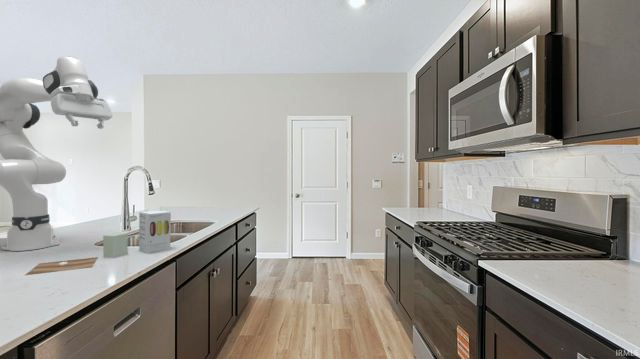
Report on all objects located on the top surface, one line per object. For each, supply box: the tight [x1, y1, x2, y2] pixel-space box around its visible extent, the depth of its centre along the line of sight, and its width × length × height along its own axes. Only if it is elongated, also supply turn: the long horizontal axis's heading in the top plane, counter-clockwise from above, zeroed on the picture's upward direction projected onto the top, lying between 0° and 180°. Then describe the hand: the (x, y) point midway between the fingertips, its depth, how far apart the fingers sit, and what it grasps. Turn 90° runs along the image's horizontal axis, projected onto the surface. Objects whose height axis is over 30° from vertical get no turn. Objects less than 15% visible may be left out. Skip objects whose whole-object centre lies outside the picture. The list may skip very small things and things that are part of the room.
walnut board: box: [25, 256, 99, 276], centre depth 104 cm, size 14×17×1 cm
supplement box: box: [138, 210, 172, 255], centre depth 129 cm, size 10×9×17 cm
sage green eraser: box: [102, 232, 129, 259], centre depth 117 cm, size 5×6×9 cm
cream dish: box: [59, 262, 67, 267], centre depth 104 cm, size 2×2×1 cm
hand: (88, 127), depth 120 cm, fingers open, 8 cm apart
